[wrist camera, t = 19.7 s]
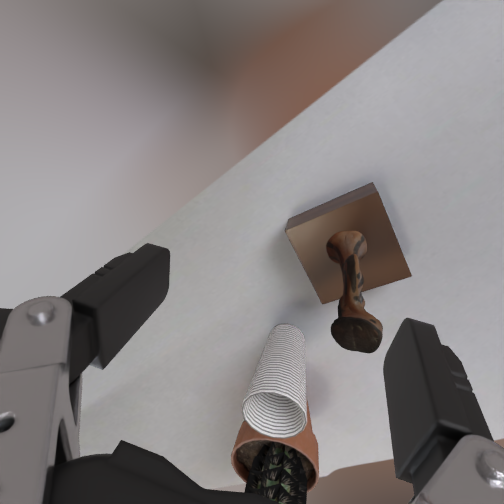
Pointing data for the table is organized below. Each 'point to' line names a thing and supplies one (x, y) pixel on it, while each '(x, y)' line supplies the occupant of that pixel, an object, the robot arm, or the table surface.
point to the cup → (279, 386)
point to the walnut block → (347, 219)
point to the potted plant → (277, 463)
